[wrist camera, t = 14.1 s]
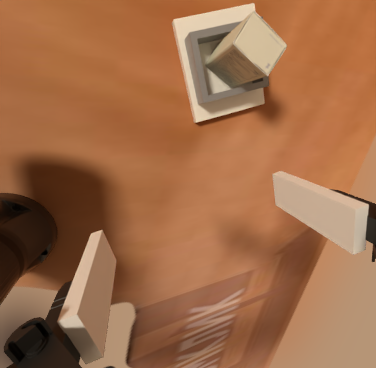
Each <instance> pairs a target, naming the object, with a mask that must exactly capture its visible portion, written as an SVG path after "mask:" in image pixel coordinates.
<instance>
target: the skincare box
mask: <svg viewBox="0 0 376 368" xmlns="http://www.w3.org/2000/svg"><path fill="white" fill-rule="evenodd" d="M286 47H287V45H286V43H285V42H284V41H283V40H282V39H281V38H280V37H279V36H278V35H277V34H276V32H275V31H274V30H273V29H272V28H271V27H270V26H269V25H268V24H267V23H266V22H265V21H264V20H263V19H262V18H261V17H260V16H259V15H258V14H257V13H256V12H255V11H252V12H251V13H250V14H249V15H248V16H247V17H246V18H245V19H244V20H243V21H242V22H241V23H240V24H239V25H237V26H236V27H235V28H234V29H233V30H232V31H231V32H230V33H229V34H228V35H227V36H226V37H225V38H224V39H223V40H221V41H220V42H219V43H218V45H217V46H216V48H215V49H214V51H213V52H212V54H211V56H210V57H209V59H208V61H207V62H206V64H205V66H206V67H207V68H208V69H209V70H210V71H211V72H213V73H214V74H215V75H216V76H217V77H218V78H220V79H221V80H222V81H223V82H224V83H226V84H227V85H228V86H229V87H234V86H237V85H240V84H243V83H246V82H250V81H253V80H256V79H259V78H263V77H266V76H268V75H269V73H270V72H271V71H272V69H273V68H274V66H275V65H276V63H277V61H278V60H279V58H280V57H281V55H282V54H283V52H284V50H285V49H286Z"/></svg>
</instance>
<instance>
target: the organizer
mask: <svg viewBox="0 0 376 368" xmlns="http://www.w3.org/2000/svg"><path fill="white" fill-rule="evenodd" d="M252 11H255V5H254V3H252V4H247V5H243V6H238V7H233V8H228V9H223V10H218V11H213V12H208V13H203V14H198V15H194V16H189V17H184V18H179V19H174V20H173V22H172V25H173V30H174V34H175V39H176V43H177V48H178V52H179V57H180V61H181V66H182V70H183V74H184V79H185V83H186V88H187V92H188V97H189V101H190V106H191V110H192V115H193V119H194V122H195V123H197V122H200V121H204V120H208V119H211V118H215V117H219V116H222V115H226V114H229V113H233V112H237V111H240V110H244V109H247V108H251V107H255V106H258V105H262V104H265V101H264V92H263V87H267V86H269V79H268V76H266V77H263V78H259V79H256V80H253V81H250V82H246V83H243V84H240V85H237V86H234V87H229V86H228V85H227V84H226V83H224V82H223V81H222V80H221V79H220V78H218V77H217V76H216V75H215V74H214V73H213V72H211V71H210V70H209V69H208V68H207V67H206V66H205V64H206V62H207V61H208V59H209V57H210V56H211V54H212V52H213V51H214V49H215V48H216V46H217V45H218V43H219V42H220V41H221V40H223V39H224V38H225V37H226V36H227V35H228V34H229V33H230V32H231V31H232V30H233V29H234V28H235V27H236V26H237V25H239V24H240V23H241V22H242V21H243V20H244V19H245V18H246V17H247V16H248V15H249V14H250V13H251V12H252ZM261 18H262V19H263V17H261Z"/></svg>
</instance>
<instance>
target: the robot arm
mask: <svg viewBox="0 0 376 368" xmlns="http://www.w3.org/2000/svg"><path fill="white" fill-rule="evenodd" d="M273 184H274V193H275V203H276V206H278V207H280V208H281V209H283V210H284V211H286V212H287V213H289V214H290V215H292V216H294V217H295V218H297V219H298V220H300V221H301V222H303V223H304V224H306V225H308V226H309V227H311V228H312V229H314V230H315V231H317V232H318V233H320V234H322V235H323V236H325V237H326V238H328V239H329V240H331V241H333V242H334V243H336V244H337V245H339V246H340V247H342V248H343V249H345V250H347V251H348V252H350V253H351V254H353V255H354V254H357V253H359V252H361V251H364V250H365V248H366V240H367V241H369V242H371V243H373V252H372V262H375V259H376V204H374V203H372V202H369V201H366V200H364V199H361V198H358V197H354V196H353V195H350V194H349V195H348V194H347V193H345V192H342V191H339V190H333V189H327V188H324V187H322V186H319V185H317V184H314V183H311V182H309V181H306V180H304V179H301V178H298V177H296V176H293V175H290V174H288V173H285V172H283V171H280V172H277V173H274V174H273ZM56 239H57V228H56V224H55V222H54V220H53V218H52V216H51V215H50V213H49V212H48V211H47V210H46V209H45V208H44V207H43V206H41V205H40V204H38V203H37V202H35V201H33V200H31V199H29V198H27V197H24V196H21V195H16V194H9V193H0V305H1V303H2V302H3V301H4V299H5V298H6V296H7V295H8V293H9V292H10V291H11V289H12V288H13V286H14V285H15V283H16V282H17V281H18V279H19V278H20V277H22V276H23V275H25V274H26V273H28V272H29V271H31V270H32V269H34V268H35V267H36V266H38V265H39V264H41V263H42V262H43V261H44V260H45V259H46V258H47V256H48V255H49V253H50V252H51V250H52V249H53V247H54V245H55V243H56ZM116 262H117V261H116V258H115V256H114V254H113V252H112V250H111V247H110V245H109V243H108V241H107V239H106V237H105V234H104V232H103V230H100V231H97V232H94V233H91V235H90V238H89V240H88V243H87V245H86V248H85V251H84V253H83V256H82V258H81V261H80V264H79V266H78V269H77V271H76V274H75V276H74V279H73V281H70V282H67V283H65V284H64V285H63V286H62V288H61V289H60V290H59V291H58V293H57V295H56V297H55V299H54V302H53V304H52V306H51V310H50V311H49V313H48V315H47V317H46V320H44V319H43V318H40V317H39V318H34V319H32V320H29V321H27V322H26V323H24V324H23V325H21V326H20V327H19V328H18V329H16V330H15V331H14V332H13V333H12V335H11V336H10V337H9V338H8V340H7V341H6V343H5V346H4V352H5V354H6V355H7V356H8V357H9V358H10V359H11V360H12V362H13V364H12V365H10V366H9V367H7V368H82V367H81V366H80V365H79V360H80V357H81V358H82V359H83V361H84V362H85V364H88V363H90V362H93V361H95V360H98V359H100V358H102V357H103V356H104V349H105V342H106V334H107V327H108V320H109V312H110V305H111V298H112V291H113V284H114V276H115V269H116Z"/></svg>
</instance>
